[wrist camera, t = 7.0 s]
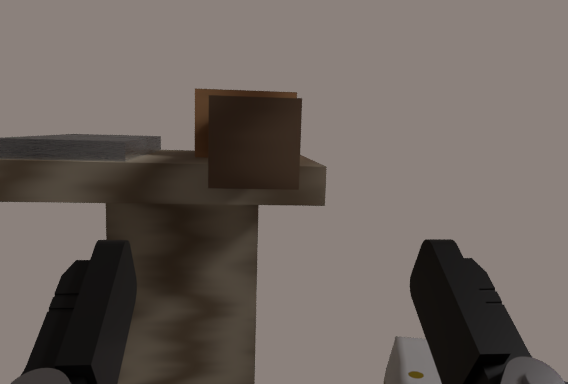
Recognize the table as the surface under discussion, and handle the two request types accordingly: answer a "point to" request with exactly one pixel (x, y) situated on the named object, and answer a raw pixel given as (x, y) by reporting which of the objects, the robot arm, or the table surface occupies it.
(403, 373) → the juice carton
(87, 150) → the grey base plate
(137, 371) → the shelf stand
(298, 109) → the mallet
